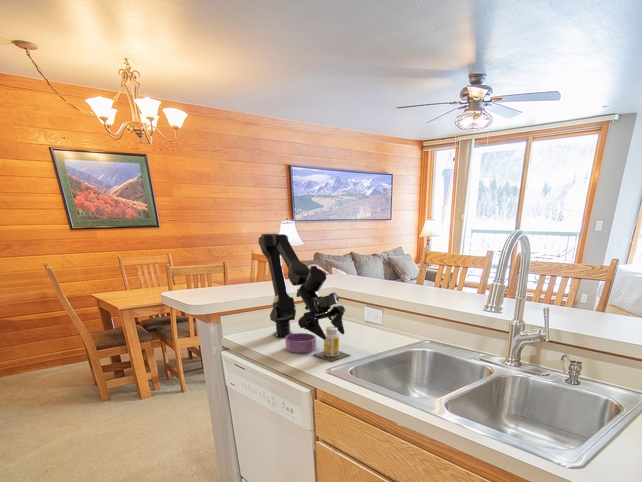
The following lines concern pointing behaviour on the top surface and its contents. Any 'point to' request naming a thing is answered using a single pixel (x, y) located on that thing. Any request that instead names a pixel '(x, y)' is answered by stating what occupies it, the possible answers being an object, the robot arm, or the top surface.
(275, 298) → the robot arm
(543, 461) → the top surface
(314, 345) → the dish
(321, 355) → the coaster
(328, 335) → the supplement bottle
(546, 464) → the top surface
